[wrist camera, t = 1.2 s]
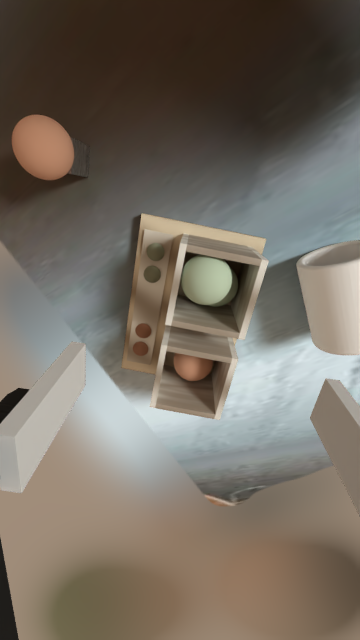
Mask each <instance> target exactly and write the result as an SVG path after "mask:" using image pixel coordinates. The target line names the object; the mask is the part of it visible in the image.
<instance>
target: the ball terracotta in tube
mask: <svg viewBox="0 0 360 640" xmlns="http://www.w3.org/2000/svg"><path fill="white" fill-rule="evenodd" d="M212 365H213V360H210V359H205V358H200V357H195V356H189V355H184V354H179V353H175V356H174V367H175V370H176V371H177V373H178V374H179V375H180V376H181V377H182V378H183V379H185V380H188V381H198V380H201V379H203V378H205V377H206V376H207V375H208V374H209V373H210V371H211V369H212Z"/></svg>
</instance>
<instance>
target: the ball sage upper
mask: <svg viewBox="0 0 360 640" xmlns="http://www.w3.org/2000/svg"><path fill="white" fill-rule="evenodd" d="M231 284H232V273H231V270H230V268H229V266H228V264H227V263H226V262H225V261H224V260H223V259H221V258H216V257H211V256H206V255H202V254H199V255H197V256H194V257H193V258H191V259H190V260H189V261H188V262H187V263H186V264H185V266H184V268H183V270H182V273H181V286H182V289H183V291H184V293H185V294H186V296H187V297H188V298H189V299H190V300H192V301H193V302H195V303H197V304H201V305H211V304H215V303H217V302H219V301H221V300H222V299H223V298H224V297H225V296H226V295H227V294H228V292H229V290H230V288H231Z"/></svg>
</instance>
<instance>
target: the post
mask: <svg viewBox="0 0 360 640" xmlns="http://www.w3.org/2000/svg"><path fill="white" fill-rule="evenodd" d="M70 138H71V141H72V144H73V148H74V161H73V165H72V167H71V169H70V170H69V172H68V173H69V174H73V175H78V176H83V177H88V166H89V150H90V146H88V145H86V144H84V143H82V142H80V141H78V140H76V139H74V138H72V137H70Z"/></svg>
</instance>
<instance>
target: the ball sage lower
mask: <svg viewBox="0 0 360 640" xmlns="http://www.w3.org/2000/svg"><path fill="white" fill-rule="evenodd" d="M229 268H230V267H229ZM230 270H231V273H232V284H231V288H230V290H229V292H228V294H227V295H226V296H225V297H224V298H223V299H222V300H221V301H219V302H217V303H215V304H211V305H209V306H212V307H219V306H223V305H225V304H227V303H229V302H230V301H231V300H232V299H233V298H234V296H235V295H236V292H237V289H238V279H237V276H236V274H235V272H234V271H233V270H232V269H231V268H230Z"/></svg>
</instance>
